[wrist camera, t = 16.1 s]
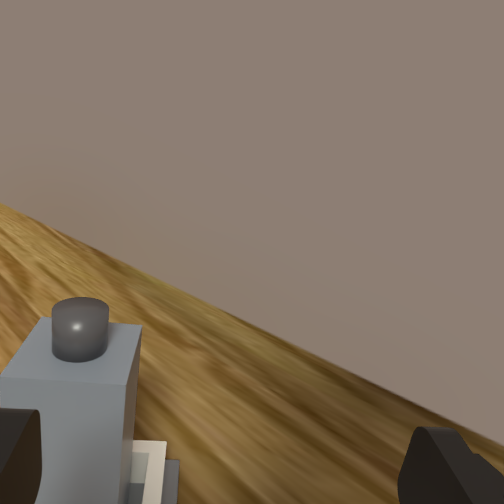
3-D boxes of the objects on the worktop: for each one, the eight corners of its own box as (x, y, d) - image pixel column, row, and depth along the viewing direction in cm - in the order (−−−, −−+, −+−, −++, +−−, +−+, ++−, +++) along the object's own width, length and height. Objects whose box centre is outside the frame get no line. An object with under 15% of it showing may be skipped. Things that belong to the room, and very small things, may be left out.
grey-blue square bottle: (128, 497, 27) (144, 290, 23) (112, 581, 23) (128, 343, 18) (42, 494, 27) (41, 280, 22) (8, 580, 22) (-3, 333, 17)
